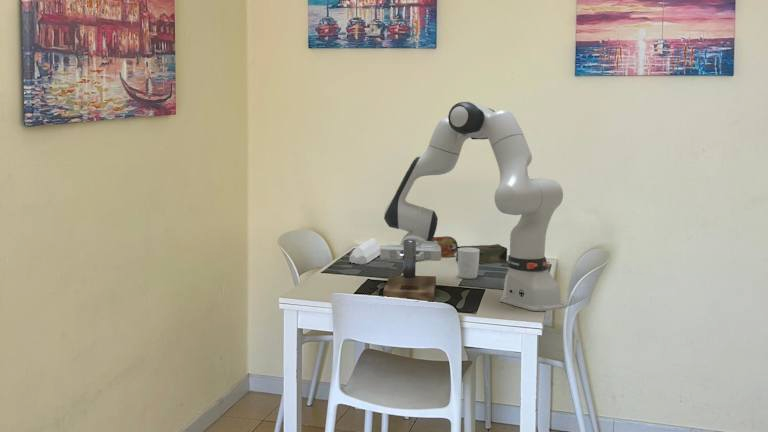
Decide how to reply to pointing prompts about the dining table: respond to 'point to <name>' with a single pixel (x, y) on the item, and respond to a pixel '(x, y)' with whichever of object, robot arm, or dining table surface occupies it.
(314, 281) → the dining table surface
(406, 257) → the pin
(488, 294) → the dining table surface
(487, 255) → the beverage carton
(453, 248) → the tin
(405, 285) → the socket block
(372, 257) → the white rounded block
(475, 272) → the white cup
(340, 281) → the dining table surface
